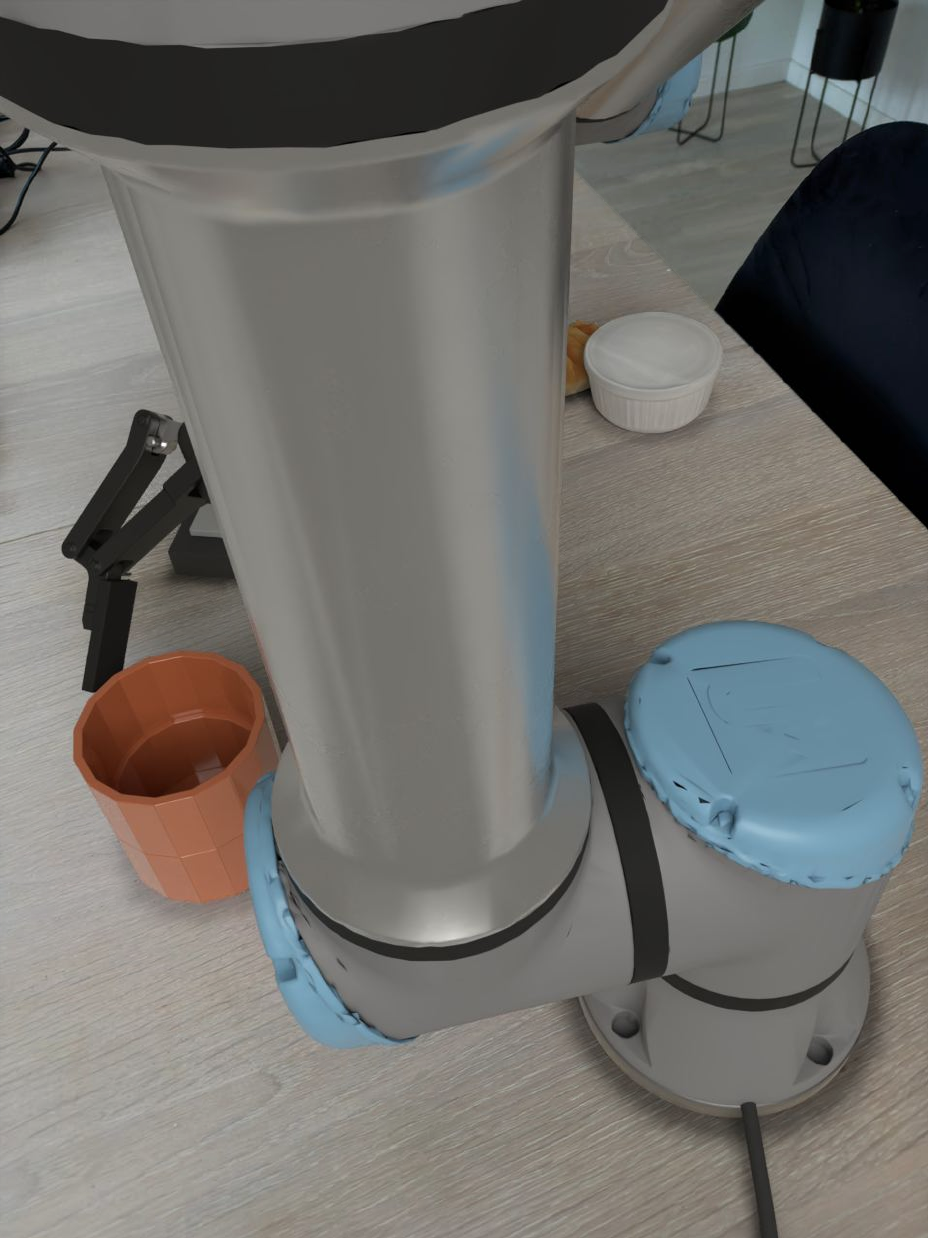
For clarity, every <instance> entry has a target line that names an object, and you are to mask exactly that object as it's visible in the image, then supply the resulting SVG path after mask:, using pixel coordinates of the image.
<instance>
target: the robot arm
mask: <svg viewBox="0 0 928 1238" xmlns="http://www.w3.org/2000/svg"><path fill="white" fill-rule="evenodd" d="M766 1H767V0H0V113H1V114H2V115H4V116H5V117H7V118H9V119H10V120H12V121H13V122H15V123H17V124H19V125H20V126H22V127H23V128H26V129H27V130H29V131H31V132H33V133H36V134H37V135H40V136H42V137H44V138H46V139H48V140H50V141H51V142H53V143H56V144H58V145H60V146H62V147H64V148H66V149H68V150H71V151H72V152H74V153H76V154H79V155H81V156H83V157H85V158H87V159H89V160H91V161H93V162H96V163H97V164H99V165H100V168H101V172H102V173H103V177H104V180H105V183H106V186H107V190H108V193H109V195H110V199H111V203H112V205H113V208H114V211H115V214H116V217H117V220H118V224H119V226H120V230H121V232H122V235H123V239H124V241H125V245H126V248H127V250H128V254H129V257H130V260H131V263H132V266H133V269H134V273H135V275H136V279H137V281H138V284H139V287H140V291H141V294H142V297H143V299H144V302H145V306H146V309H147V312H148V315H149V318H150V321H151V324H152V327H153V330H154V333H155V336H156V340H157V342H158V345H159V348H160V351H161V354H162V355H161V356H162V358H163V360H164V364H165V367H166V370H167V373H168V376H169V379H170V383H171V385H172V388H173V391H174V394H175V397H176V399H177V403H178V407H179V409H180V412H181V415H182V419H183V421H182V422H180V421H176V420H174V419H173V417H172V416H170V415H167V414H164V413H159V412H156V411H152V410H149V409H144V408H141V409H139V410H137V411H136V412H135V414H134V415H133V418H132V422H131V425H130V430H129V433H128V437H127V441H126V444H125V446H124V448H123V450H122V451H121V452H120V454H119V455H118V456H117V457H118V458H117V459H116V460H115V462H114V464H113V465H112V466H111V468H110V469H109V471H108V473H107V474H106V475H105V477H104V479H103V480H102V482H101V483H100V485H99V487H98V488H97V490H96V491H95V493H94V494H93V495H92V497H91V499H89V501H88V502H87V504H86V506H85V508H84V509H83V511H82V512H81V514H80V515H79V517H78V519H77V520H76V521H75V523H74V525H73V526H72V528H71V529H70V531H69V532H68V533H67V535H66V537H65V538H64V540H63V542H62V544H61V548H60V550H61V554H62V555H63V557H65V558H66V559H68V560H73V561H75V562H76V563H78V564H79V565H80V566H82V567H83V568H84V569H85V570H86V572H87V575H88V581H87V587H86V592H85V597H84V604H83V611H82V617H81V622H82V628H83V630H87V631H90V635H89V643H88V648H87V653H86V660H85V666H84V671H83V678H82V684H81V691H83V692H88V693H90V694H95V693H96V692H97V691H98V690H99V689H100V688H101V687H102V686H103V685H104V684H105V683H106V682H107V681H108V680H109V679H110V678H111V677H112V676H113V675H115V674H116V673H118V672H120V671H122V670H124V666H125V660H126V655H127V649H128V642H129V637H130V631H131V626H132V619H133V612H134V607H135V602H136V596H137V589H138V584H139V582H138V581H137V580H136V581H135V580H131V579H126V578H122V577H130V576H132V575H133V573H132V572H130V570H132V569H133V567H135V566H136V565H137V564H138V563H139V562H140V561H141V560H142V559H144V558H145V557H146V556H147V555H148V554H149V553H150V552H151V551H152V550H153V549H154V548H156V547H157V545H159V544H160V543H161V542H162V541H163V540H164V539H166V537H168V536H169V535H170V534H171V533H172V532H173V531H174V530H175V529H176V528H178V527H179V526H180V525H181V523H182V522H183V521H184V520H185V519H186V518H187V517H188V516H189V515H190V514H192V513H193V512H194V511H195V510H196V509H198V508H200V507H202V506H204V505H206V504H212V507H213V511H214V514H215V517H216V520H217V523H218V526H219V529H220V532H221V535H222V538H223V541H224V544H225V547H226V550H227V553H228V556H229V559H230V562H231V566H232V569H233V572H234V575H235V578H236V579H235V580H236V583H237V586H238V590H239V593H240V596H241V599H242V603H243V605H244V608H245V611H246V614H247V617H248V620H249V623H250V626H251V629H252V632H253V636H254V639H255V641H256V644H257V645H256V646H257V648H258V651H259V654H260V657H261V660H262V664H263V666H264V669H265V672H266V675H267V678H268V682H269V685H270V687H271V688H270V689H271V690H272V693H273V696H274V699H275V703H276V706H277V709H278V713H279V715H280V718H281V721H282V724H283V727H284V730H285V733H286V736H287V742H286V744H285V747H284V748H283V751H282V752H281V753H282V755H281V758H280V760H279V763H278V767H277V769H276V770H273V771H270V772H268V773H266V774H264V775H263V776H262V777H260V778H259V780H258V781H257V782H256V785H255V786H254V787H253V788H252V789H251V791H250V793H249V795H248V798H247V801H246V805H245V812H244V850H245V859H246V867H247V874H248V883H249V888H248V889H249V894H250V898H251V902H252V909H253V912H254V913H253V914H254V918H255V922H256V925H257V929H258V933H259V937H260V939H261V943H262V945H263V947H264V950H265V953H266V956H267V957H268V958H270V960H271V961H272V965H273V969H274V979H275V982H276V985H277V987H278V990H279V993H280V995H281V997H282V1000H283V1002H284V1003H285V1006H286V1007H287V1009H288V1011H289V1013H290V1014H291V1017H293V1019H294V1020H295V1021H296V1023H297V1024H298V1026H299V1027H300V1028H301V1029H302V1031H303V1032H304V1033H306V1035H308V1036H309V1038H310V1039H312V1040H313V1041H315V1042H317V1043H318V1044H320V1045H322V1046H324V1047H326V1048H330V1049H334V1050H351V1049H352V1050H353V1049H359V1048H365V1047H366V1048H367V1047H375V1046H387V1047H397V1046H401V1045H405V1044H408V1043H412V1042H414V1041H415V1040H416V1039H418V1038H419V1037H420V1036H421V1035H425V1034H429V1033H434V1032H438V1031H441V1030H445V1029H450V1028H454V1027H458V1026H463V1025H466V1024H470V1023H474V1022H478V1021H482V1020H487V1019H490V1018H495V1017H499V1016H503V1015H507V1014H511V1013H515V1012H519V1011H524V1010H528V1009H531V1008H532V1009H533V1008H537V1007H540V1006H544V1005H545V1006H546V1005H548V1004H553V1003H558V1002H562V1001H565V1000H571V999H573V998H578V1001H579V1005H580V1007H581V1011H582V1014H583V1015H584V1019H585V1020H586V1022H587V1024H588V1026H589V1029H590V1031H591V1032H592V1034H593V1036H594V1037H595V1039H596V1041H597V1042H598V1044H599V1046H601V1048H602V1049H603V1051H604V1052H605V1053H606V1054H607V1056H608V1057H609V1058H610V1059H611V1060H612V1061H613V1062H614V1064H615V1065H616V1066H617V1067H618V1068H619V1069H620V1070H621V1071H622V1072H623V1073H625V1074H626V1076H628V1077H629V1078H630V1080H632V1081H634V1082H635V1083H636V1084H637V1085H639V1086H640V1087H642V1088H643V1089H644V1090H646V1091H648V1092H649V1093H651V1094H652V1095H654V1096H656V1097H658V1098H660V1099H661V1100H664V1101H665V1102H667V1103H670V1104H672V1105H674V1106H677V1107H680V1108H682V1109H684V1110H688V1111H692V1112H695V1113H698V1114H701V1115H707V1116H713V1117H721V1118H729V1119H730V1118H732V1119H734V1118H736V1119H737V1118H739V1119H740V1118H742V1123H743V1128H744V1129H743V1130H744V1135H745V1140H746V1147H747V1153H748V1159H749V1164H750V1171H751V1176H752V1177H751V1178H752V1183H753V1188H754V1194H755V1201H756V1207H757V1213H758V1220H759V1228H760V1236H761V1238H779V1232H778V1225H777V1219H776V1212H775V1206H774V1201H773V1200H774V1199H773V1194H772V1189H771V1183H770V1182H771V1181H770V1178H769V1171H768V1170H769V1169H768V1166H767V1161H766V1160H767V1158H766V1154H765V1148H764V1142H763V1137H762V1131H761V1125H760V1119H759V1117H762V1116H767V1115H771V1114H775V1113H779V1112H782V1111H784V1110H789V1109H790V1108H793V1107H795V1106H797V1105H799V1104H801V1103H803V1102H805V1101H807V1100H808V1099H811V1098H812V1097H814V1096H815V1095H816V1094H817V1093H818V1092H820V1091H821V1090H822V1089H823V1088H825V1087H826V1086H827V1085H828V1084H829V1083H830V1082H832V1080H833V1079H834V1078H835V1077H836V1076H837V1075H838V1074H839V1072H840V1071H841V1070H842V1069H843V1067H844V1066H845V1064H846V1062H847V1061H848V1059H849V1058H850V1056H851V1055H852V1052H853V1051H854V1049H855V1047H856V1045H857V1043H858V1042H859V1039H860V1036H861V1034H862V1032H863V1030H864V1026H865V1023H866V1020H867V1017H868V1012H869V1008H870V1000H871V968H870V960H869V955H868V950H867V945H866V942H865V938H864V932H865V930H866V929H867V927H868V924H869V923H870V920H871V918H872V916H873V914H874V912H875V910H876V909H877V906H878V904H879V901H880V900H881V898H882V896H883V893H884V891H885V890H886V887H887V885H888V884H889V882H890V880H891V877H892V875H893V873H894V871H895V869H896V867H897V866H898V865H899V864H900V862H902V859H903V856H904V854H905V853H906V851H908V849H909V847H910V843H911V841H912V838H913V833H914V830H915V814H916V811H917V808H918V806H919V803H920V800H921V796H922V792H923V785H924V761H923V760H924V759H923V756H922V750H921V746H920V743H919V742H920V741H919V739H918V736H917V732H916V730H915V727H914V726H913V723H912V721H911V719H910V718H909V716H908V714H907V713H906V711H905V709H904V708H903V705H902V704H901V702H899V700H898V698H897V697H896V695H894V693H893V692H892V691H891V689H890V688H889V687H888V686H887V685H886V684H885V683H884V682H883V681H882V680H881V679H880V677H878V676H877V675H876V674H875V673H874V672H873V671H871V669H870V668H869V667H868V666H866V665H865V664H863V663H862V662H861V661H859V660H858V659H857V658H855V657H854V656H852V655H851V654H849V652H846V651H845V650H843V649H841V648H837V647H832V646H829V645H826V644H824V643H822V642H820V641H819V640H817V639H816V638H815V637H814V636H813V635H812V634H811V633H808V632H805V631H802V630H799V629H796V628H794V627H789V626H786V625H782V624H778V623H774V622H773V623H772V622H767V621H758V620H747V619H746V620H745V619H734V620H731V619H730V620H720V621H713V622H707V623H701V624H699V625H696V626H691V627H688V628H687V629H684V630H682V631H680V632H678V633H675V634H673V635H672V636H670V637H668V638H667V639H665V640H664V641H663V642H661V643H660V644H659V645H658V646H656V647H655V648H654V649H653V651H652V652H651V654H650V656H649V659H648V660H647V661H646V662H645V663H643V664H642V665H640V667H639V668H638V669H637V670H636V671H635V673H634V674H633V675H632V677H631V678H630V681H629V682H628V686H627V692H626V693H625V694H623V695H620V696H615V697H610V698H605V699H601V700H595V701H591V702H590V701H589V702H586V703H582V704H577V705H572V706H567V707H563V708H559V707H558V706H557V705H556V704H555V702H554V688H555V664H556V663H555V661H556V635H557V613H558V612H557V609H558V608H557V607H558V586H559V585H558V583H559V561H560V557H559V556H560V533H561V512H562V511H561V509H562V485H563V484H562V483H563V482H562V481H563V460H564V459H563V457H564V436H565V435H564V434H565V409H566V408H565V405H566V402H565V401H566V396H565V384H566V359H567V334H568V327H569V307H570V306H569V305H570V284H571V283H570V279H571V259H572V256H571V254H572V230H573V229H572V228H573V204H574V203H573V202H574V199H573V198H574V182H575V181H574V178H575V156H576V155H575V154H576V153H575V152H576V147H577V146H583V145H584V146H585V145H591V144H592V145H593V144H599V143H602V144H605V145H612V144H613V145H614V144H620V143H622V142H626V141H628V140H631V139H634V138H636V137H638V136H643V135H647V134H651V133H656V132H660V131H665V130H668V129H670V128H672V127H674V126H675V125H678V124H679V123H680V122H681V121H682V120H683V119H684V118H685V117H686V115H687V114H688V113H689V110H690V107H691V106H692V103H693V95H694V94H695V93H696V92H697V90H698V87H699V83H700V78H701V72H702V67H703V66H702V65H703V52H705V50H707V49H708V48H709V47H710V46H712V45H713V44H714V43H716V42H717V41H718V40H719V39H721V38H722V37H723V36H724V35H725V34H726V33H728V32H729V31H730V30H732V29H733V28H734V27H735V26H736V25H737V24H739V23H740V22H741V21H743V20H744V19H745V18H746V17H747V16H749V15H750V14H751V13H752V12H754V11H755V10H756V9H757V8H759V7H760V6H761V5H762V4H764V3H765V2H766ZM178 447H179V449H180V452H181V455H182V456H183V460H184V461H185V463H184V464H182V466H180V467H179V468H178V469H177V470H176V471H175V472H173V474H172V475H171V476H170V477H168V478H167V480H165V481H164V483H162V489H161V490H160V491H159V492H158V493H157V494H156V495H155V496H154V497H152V498H151V500H149V501H148V503H146V504H145V505H144V506H143V507H142V508H140V510H138V512H136V513H135V514H134V515H133V516H132V517H131V518H130V519H129V520H128V521H127V519H128V518H129V516H130V515H131V513H132V512H133V510H134V509H135V507H136V506H137V504H138V503H139V501H140V500H141V498H142V497H143V495H144V494H145V492H146V491H147V489H148V488H149V487H150V485H151V484H152V482H153V480H154V479H155V477H156V476H157V474H158V473H159V471H160V469H161V468H162V466H163V465H164V463H165V461H166V458H167V457H168V456H169V455H171V454H172V453H173V452H174V451H177V449H178ZM126 521H127V522H126Z"/></svg>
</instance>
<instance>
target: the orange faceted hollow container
mask: <svg viewBox="0 0 928 1238" xmlns="http://www.w3.org/2000/svg"><path fill="white" fill-rule="evenodd" d="M74 725H75V726H74V727H73V730H72V736H73V737H72V760H73V762H74V764H75V766H76V768H77V770H78V772H79V773H80V774H81V777H82V778H83V780H84V782H85V784H86V785H87V788H88V789H89V791H90V792H91V795H92V796H93V798H94V799H95V801H96V803H97V805H98V806H99V808H100V810H101V812H102V814H103V815H104V817H105V819H106V821H107V822H108V824H109V826H110V828H111V829H112V831H113V833H114V835H115V836H116V838H117V840H118V842H119V844H120V846H121V847H122V849H123V850H124V852H125V854H126V856H127V857H128V858H127V859H128V860H129V861H130V863H131V865H132V866H133V868H134V870H135V871H136V873H137V875H138V877H139V878H140V881H141V882H142V883H143V884H144V885H145V886H147V887H148V888H150V889H151V890H153V891H154V892H156V893H158V894H159V895H161V896H163V897H164V898H166V899H168V900H171V901H172V900H173V901H179V902H180V901H181V902H189V903H196V904H207V903H210V902H215V901H219V900H223V899H227V898H228V899H229V898H232V897H235V896H238V895H240V894H242V893H243V892H245V891H246V890H248V889H249V883H248V874H247V867H246V859H245V850H244V812H245V805H246V801H247V798H248V795H249V793H250V791H251V789H252V788H253V787H254V786H255V785H256V782H257V781H258V780H259V778H260V777H262V776H263V775H264V774H266V773H268V772H270V771H273V770H276V769H277V767H278V763H279V760H280V758H281V755H282V753H283V752H282V750H281V747H280V743H279V741H278V737H277V733H276V731H275V728H274V727H275V726H274V724H273V721H272V717H271V715H270V712H269V709H268V705H267V702H266V699H265V696H264V692H263V690H262V688H261V687H260V685H259V684H258V683H257V681H256V680H255V679H254V677H253V676H252V675H251V673H250V672H249V671H248V669H247V668H246V667H245V666H244V665H242V664H240V663H239V662H236V661H233V660H232V659H230V658H227V657H225V656H224V655H221V654H219V653H217V652H209V651H199V650H187V649H180V650H175V651H171V652H167V653H166V652H165V653H162V654H157V655H153V656H148V657H145V658H143V659H141V660H139V661H137V662H135V663H133V664H132V665H130V666H128V667H125V668H123V670H122V671H120V672H118V673H116V674H115V675H113V676H112V677H111V678H110V679H109V680H108V681H107V682H106V683H105V684H104V685H103V686H102V687H101V688H100V689H99V690H98V691H97V692H96V693H93V694H92V695H91V696H90V697H89V698H88V700H87V701H86V703H85V705H84V707H83V709H82V711H81V714H80V715H79V717H78V719H77V721H76V724H74Z"/></svg>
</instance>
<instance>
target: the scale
mask: <svg viewBox="0 0 928 1238" xmlns="http://www.w3.org/2000/svg"><path fill="white" fill-rule="evenodd" d="M167 555H169V556H168V557H169V559H170V562H171V564H172V568H173V570H174V573H175V575H182V576H192V577H193V576H194V577H206V578H207V577H209V578H218V579H219V578H222V579H234V580H236V578H235V575H234V572H233V569H232V566H231V562H230V559H229V556H228V553H227V550H226V547H225V544H224V541H223V538H222V535H221V532H220V529H219V526H218V523H217V520H216V517H215V514H214V511H213V507H212V504H206V505H204V506H202V507H200V508H198V509H196V510H195V511H194V512H193V513H192V514H190V515H189V516H188V517H187V518H186V519H185V520H184V521H183V522H182V523H181V524H179V526H178V529H177V531H176V534H175V536H174V538H173V540H172V542H171V544H170V546H169V548H168V549H167Z"/></svg>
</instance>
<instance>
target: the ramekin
mask: <svg viewBox="0 0 928 1238" xmlns="http://www.w3.org/2000/svg"><path fill="white" fill-rule="evenodd" d="M599 327H600V328H598V329H597V330H596V331H595V332H594V333H593V334H592V335H591V336H590V337H589V338H588V340H587V342H586V345H585V348H584V366H585V369H586V371H587V373H588V376H589V382H590V391H591V396H592V401H593V404H594V405H595V408H596V409H597V411H598V413H600V414H601V416H603V418H605V419H606V420H607V421H609V422H610V423H611V424H613V425H615V426H616V427H618V428H621V429H623V430H626V431H629V432H634V433H638V434H663V433H664V434H665V433H669V432H672V431H676V430H679V429H681V428H683V427H685V426H687V425H689V424H691V422H693V421H694V420H695V419H697V418H698V417H699V415H701V414H702V412H703V411H704V410H705V409H706V407H707V405H708V404H709V400H710V397H711V394H712V392H713V389H714V385H715V382H716V378H717V376H718V374H719V373H720V371H721V368H722V366H723V362H724V361H723V359H724V349H723V344H722V342H721V341H722V340H720V338H719V336H718V335H717V334H716V333H715V332H714V331H713V330H712V329H711V328H710V327H709V326H707V325H705V324H704V323H702V322H700V321H698V320H696V319H694V318H691V317H688V316H685V315H681V314H676V313H674V312H667V311H665V312H664V311H643V312H636V313H631V314H626V315H624V316H619V317H617V318H614V319H612V320H609V321H608V322H606V323H604V324H602V325H601V326H599Z"/></svg>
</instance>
